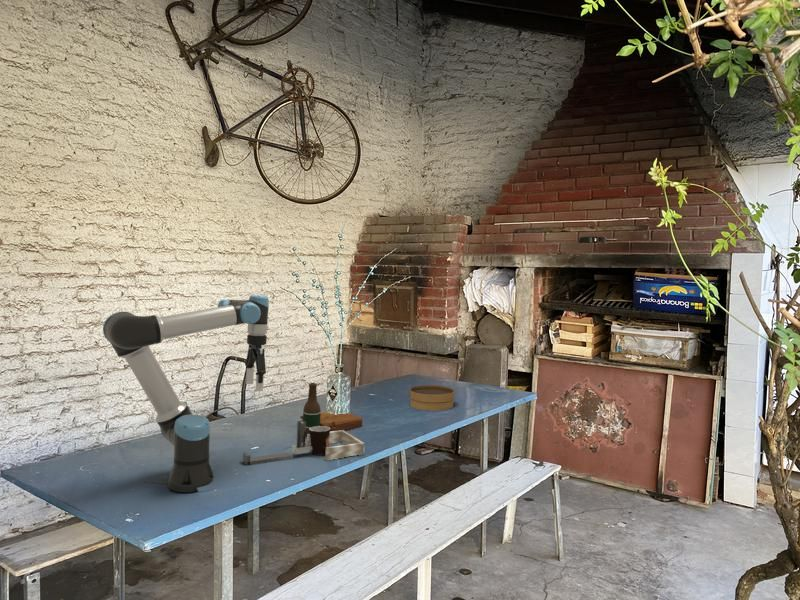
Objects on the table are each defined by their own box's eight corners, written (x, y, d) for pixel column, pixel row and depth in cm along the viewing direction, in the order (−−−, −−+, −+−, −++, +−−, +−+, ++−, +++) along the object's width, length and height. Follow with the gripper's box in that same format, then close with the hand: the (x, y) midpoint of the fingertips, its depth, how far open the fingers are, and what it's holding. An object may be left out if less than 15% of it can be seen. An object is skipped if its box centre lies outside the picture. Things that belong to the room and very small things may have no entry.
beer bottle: (311, 432, 265) (313, 380, 263) (323, 435, 260) (325, 383, 258) (298, 435, 259) (300, 383, 257) (310, 439, 254) (312, 386, 252)
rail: (246, 465, 218) (246, 456, 218) (242, 461, 222) (242, 452, 222) (292, 458, 228) (292, 449, 228) (288, 455, 231) (288, 446, 231)
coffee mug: (318, 457, 230) (318, 432, 229) (304, 453, 235) (304, 428, 235) (339, 450, 239) (339, 427, 238) (325, 447, 244) (325, 423, 244)
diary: (323, 437, 259) (324, 425, 258) (299, 428, 272) (300, 416, 272) (362, 429, 275) (362, 417, 275) (337, 420, 288) (338, 409, 288)
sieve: (399, 408, 317) (400, 388, 316) (427, 401, 336) (428, 382, 335) (435, 417, 301) (436, 396, 300) (462, 410, 320) (463, 390, 319)
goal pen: (326, 460, 227) (327, 448, 227) (306, 445, 244) (307, 434, 244) (364, 455, 236) (364, 443, 236) (342, 441, 253) (343, 430, 253)
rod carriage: (298, 456, 226) (299, 425, 225) (289, 449, 235) (290, 419, 234) (328, 452, 233) (329, 422, 232) (318, 445, 241) (319, 416, 241)
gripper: (276, 338, 217) (273, 393, 218) (257, 330, 238) (254, 381, 239) (256, 338, 213) (253, 394, 214) (239, 330, 235) (236, 381, 236)
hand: (254, 387), depth 227 cm, fingers open, 13 cm apart
